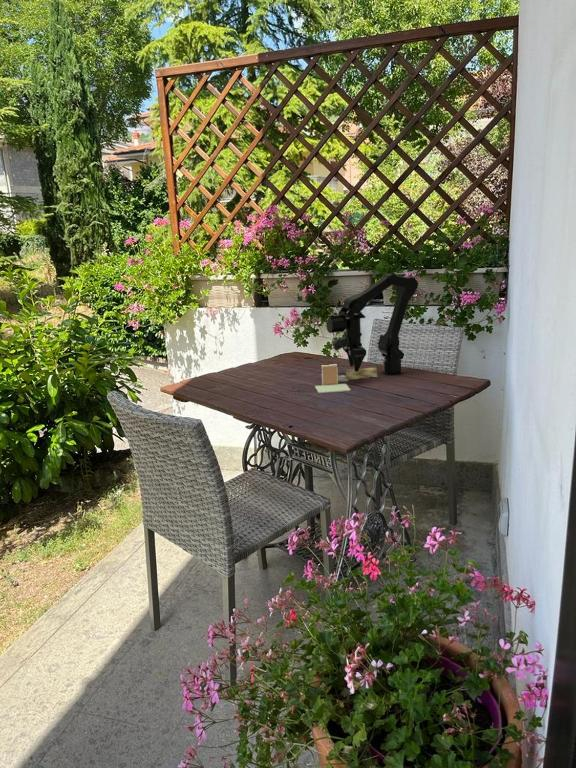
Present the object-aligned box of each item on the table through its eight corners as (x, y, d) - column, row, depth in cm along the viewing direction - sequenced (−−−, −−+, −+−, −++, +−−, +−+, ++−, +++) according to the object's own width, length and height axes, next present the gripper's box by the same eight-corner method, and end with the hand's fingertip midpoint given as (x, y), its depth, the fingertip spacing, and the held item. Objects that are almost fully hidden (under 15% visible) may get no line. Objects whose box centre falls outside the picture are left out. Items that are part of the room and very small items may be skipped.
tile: (337, 384, 219) (336, 363, 217) (338, 385, 218) (337, 364, 215) (321, 385, 219) (321, 365, 217) (322, 386, 217) (321, 366, 215)
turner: (374, 374, 230) (374, 366, 229) (378, 378, 224) (378, 370, 223) (323, 378, 229) (322, 370, 228) (325, 382, 222) (325, 374, 221)
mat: (345, 384, 217) (345, 383, 217) (350, 390, 209) (350, 389, 209) (315, 386, 216) (315, 385, 216) (318, 393, 208) (318, 392, 208)
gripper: (329, 327, 230) (330, 365, 234) (337, 335, 212) (338, 376, 216) (356, 325, 230) (356, 363, 234) (366, 333, 212) (367, 373, 217)
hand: (354, 368), depth 225 cm, fingers open, 9 cm apart
